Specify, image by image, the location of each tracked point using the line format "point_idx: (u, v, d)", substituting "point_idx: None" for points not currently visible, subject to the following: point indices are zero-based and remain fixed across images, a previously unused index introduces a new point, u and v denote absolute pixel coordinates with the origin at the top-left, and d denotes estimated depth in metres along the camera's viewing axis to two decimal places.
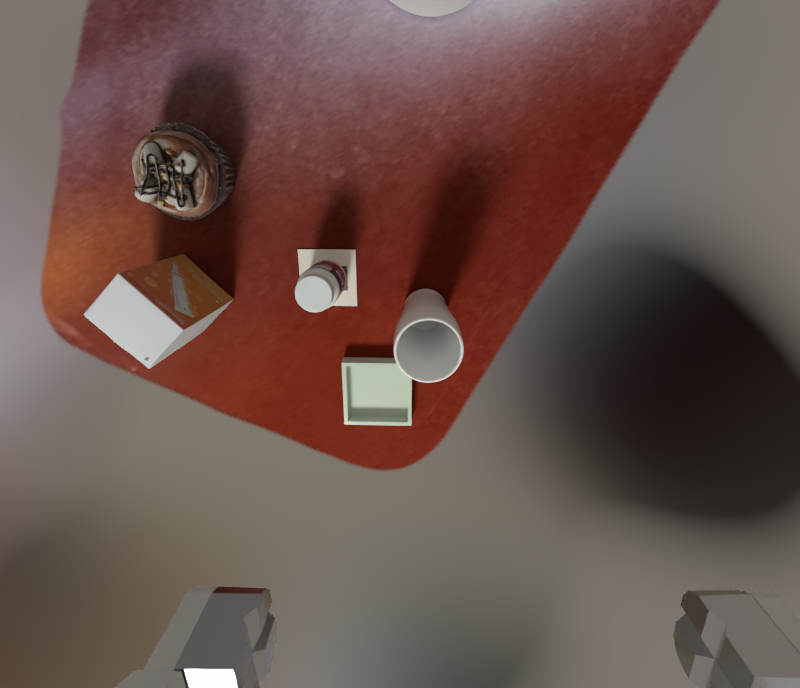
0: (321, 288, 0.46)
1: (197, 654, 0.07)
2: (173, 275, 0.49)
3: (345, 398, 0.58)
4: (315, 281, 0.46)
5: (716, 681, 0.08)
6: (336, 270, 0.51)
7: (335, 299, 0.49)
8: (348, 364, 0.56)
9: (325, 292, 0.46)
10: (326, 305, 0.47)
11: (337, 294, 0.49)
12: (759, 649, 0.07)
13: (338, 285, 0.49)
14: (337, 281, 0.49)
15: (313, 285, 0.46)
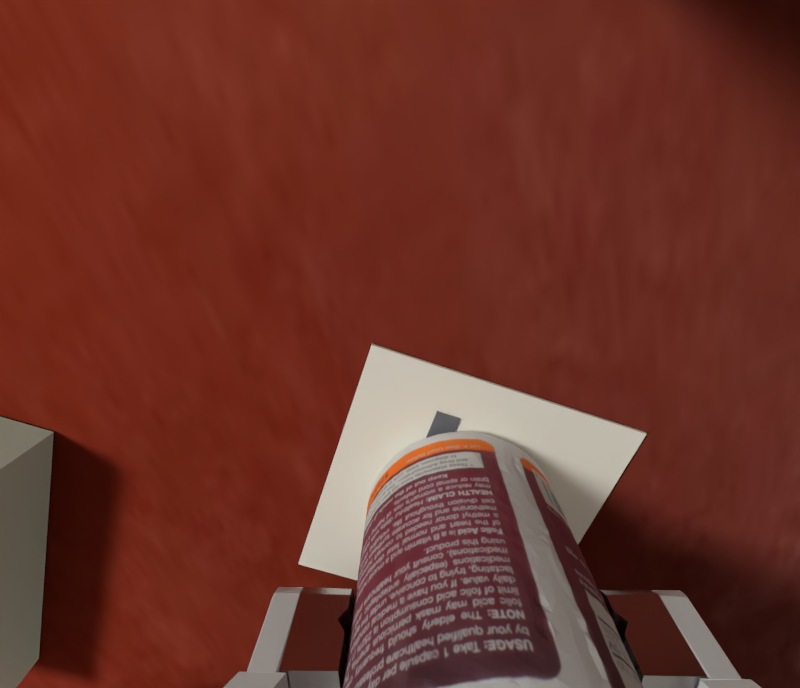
0: None
1: (299, 655, 0.07)
2: None
3: None
4: None
5: None
6: None
7: None
8: None
9: None
10: None
11: None
12: (654, 648, 0.07)
13: None
14: None
15: None
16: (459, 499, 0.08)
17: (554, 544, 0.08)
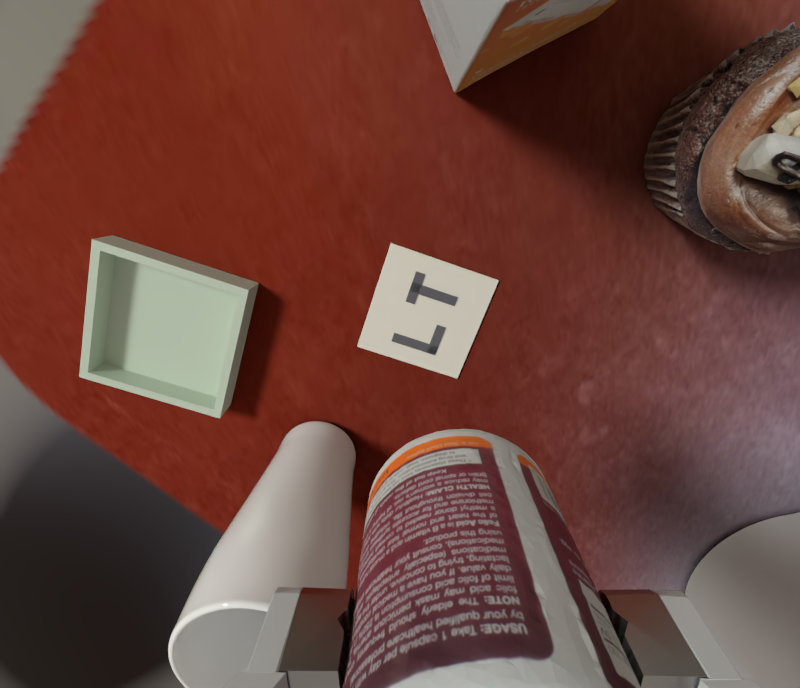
0: None
1: (299, 655, 0.07)
2: None
3: (160, 266, 0.25)
4: None
5: None
6: None
7: None
8: (241, 302, 0.26)
9: None
10: None
11: None
12: (654, 648, 0.07)
13: None
14: None
15: None
16: (458, 493, 0.09)
17: (549, 537, 0.08)
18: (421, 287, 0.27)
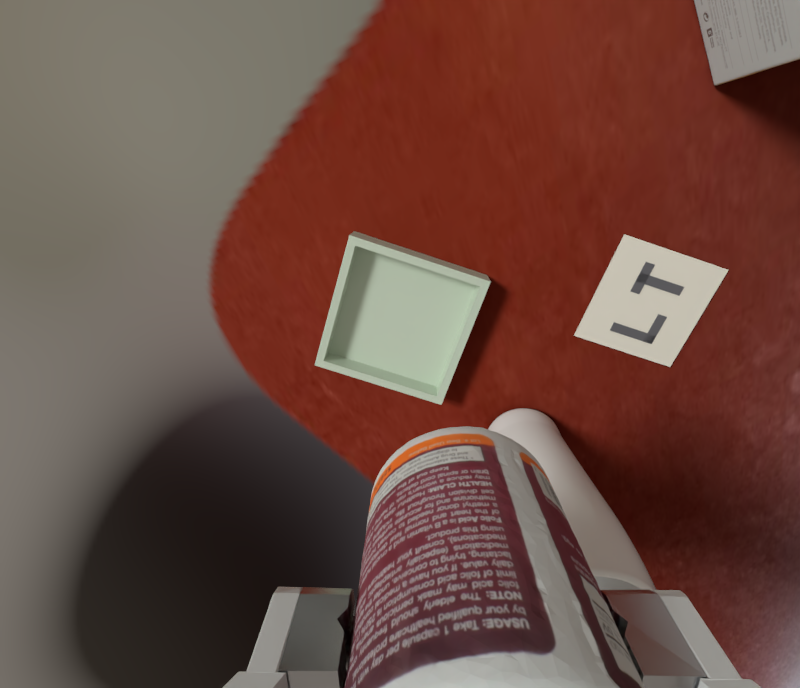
0: None
1: (298, 654, 0.07)
2: None
3: (410, 260, 0.27)
4: None
5: None
6: None
7: None
8: (482, 293, 0.27)
9: None
10: None
11: None
12: (654, 648, 0.07)
13: None
14: None
15: None
16: (460, 489, 0.09)
17: (551, 533, 0.08)
18: (648, 277, 0.28)
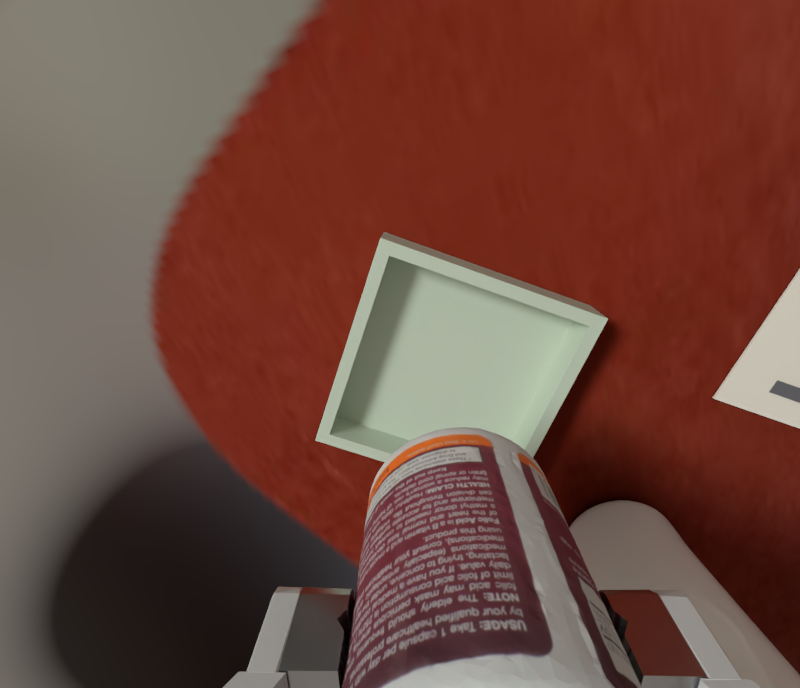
0: None
1: (298, 655, 0.07)
2: None
3: (478, 281, 0.16)
4: None
5: None
6: None
7: None
8: (591, 337, 0.17)
9: None
10: None
11: None
12: (654, 648, 0.07)
13: None
14: None
15: None
16: (458, 491, 0.09)
17: (550, 534, 0.08)
18: None
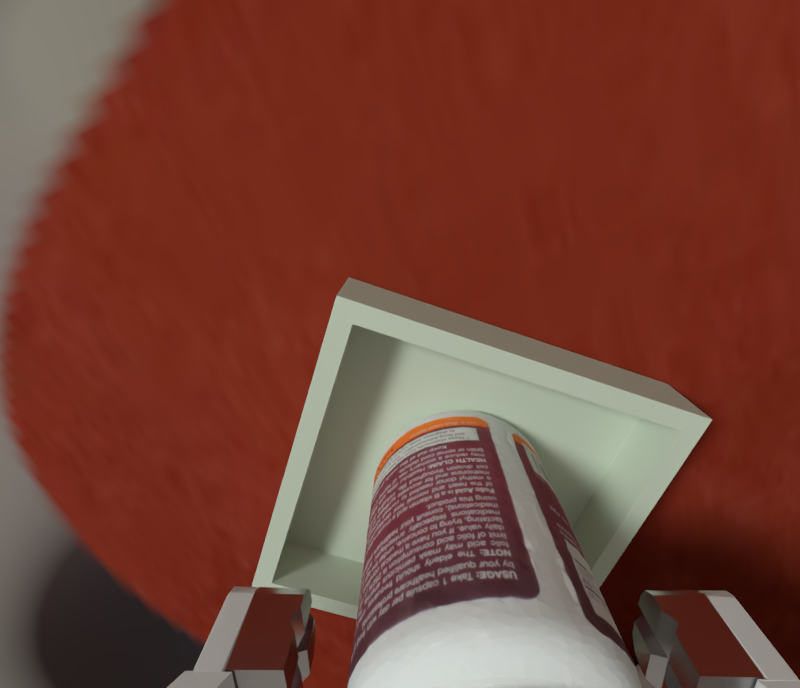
0: None
1: (246, 654, 0.07)
2: None
3: (501, 363, 0.10)
4: None
5: (668, 680, 0.08)
6: None
7: None
8: (683, 447, 0.10)
9: None
10: None
11: None
12: (707, 648, 0.07)
13: None
14: None
15: None
16: (457, 465, 0.09)
17: (539, 503, 0.09)
18: None
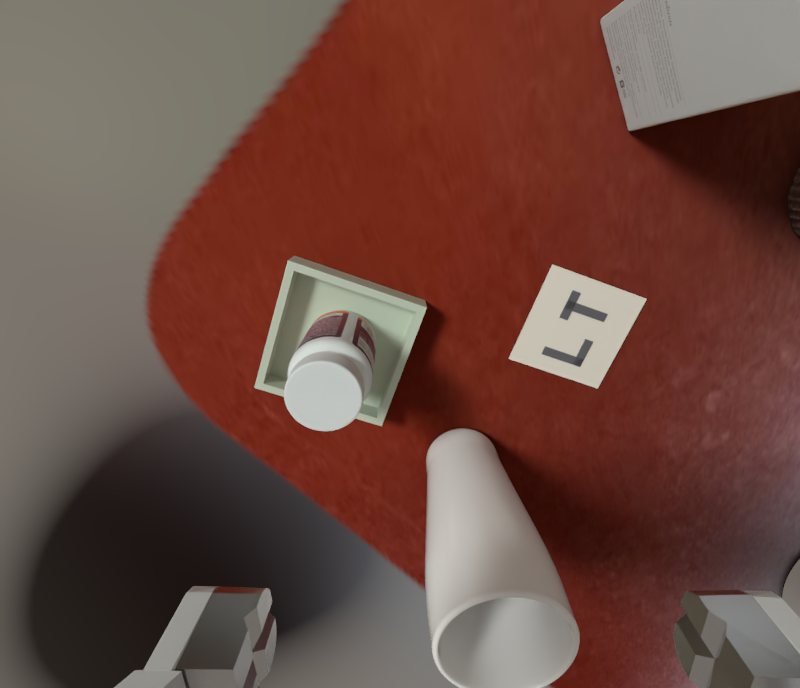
0: (330, 415, 0.23)
1: (197, 653, 0.07)
2: None
3: (348, 285, 0.27)
4: (347, 410, 0.23)
5: (716, 681, 0.08)
6: None
7: None
8: (418, 319, 0.28)
9: (320, 420, 0.23)
10: (293, 412, 0.23)
11: None
12: (759, 649, 0.07)
13: None
14: None
15: (340, 404, 0.22)
16: (330, 320, 0.27)
17: (355, 329, 0.26)
18: (575, 305, 0.30)
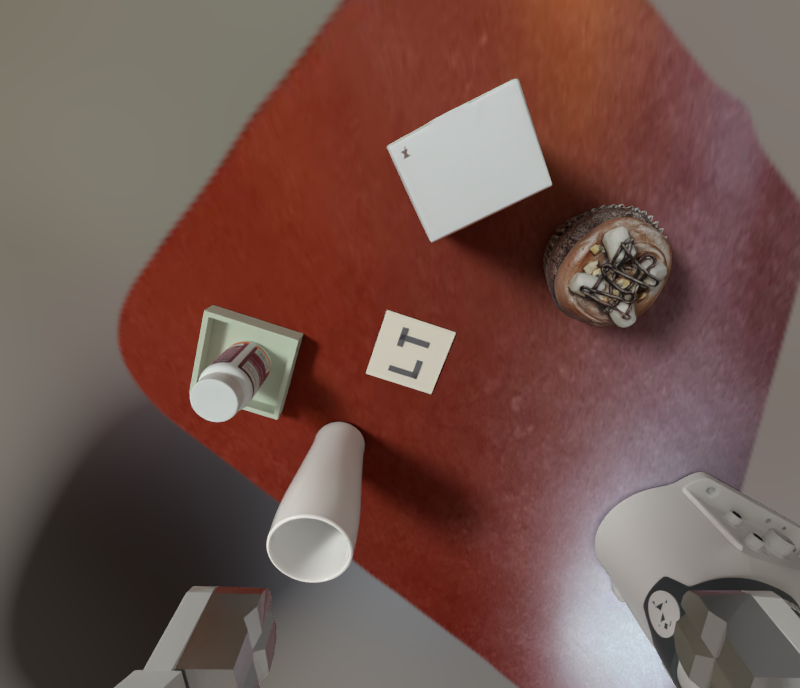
0: (219, 412, 0.37)
1: (198, 653, 0.07)
2: None
3: (245, 326, 0.41)
4: (229, 409, 0.36)
5: (716, 681, 0.08)
6: None
7: None
8: (294, 347, 0.42)
9: (213, 415, 0.37)
10: (196, 410, 0.36)
11: None
12: (759, 649, 0.07)
13: None
14: None
15: (225, 405, 0.36)
16: (232, 349, 0.41)
17: (247, 355, 0.40)
18: (407, 336, 0.43)
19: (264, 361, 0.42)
